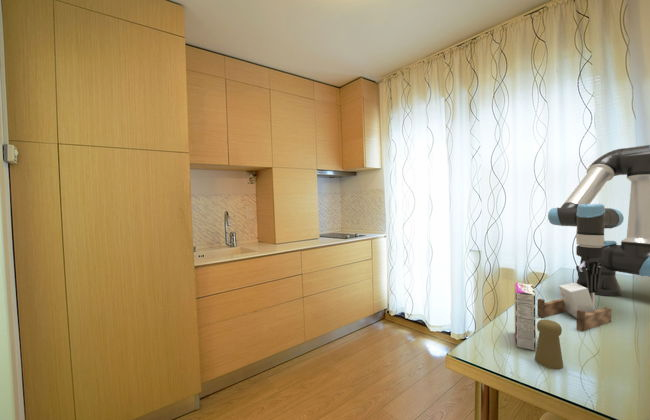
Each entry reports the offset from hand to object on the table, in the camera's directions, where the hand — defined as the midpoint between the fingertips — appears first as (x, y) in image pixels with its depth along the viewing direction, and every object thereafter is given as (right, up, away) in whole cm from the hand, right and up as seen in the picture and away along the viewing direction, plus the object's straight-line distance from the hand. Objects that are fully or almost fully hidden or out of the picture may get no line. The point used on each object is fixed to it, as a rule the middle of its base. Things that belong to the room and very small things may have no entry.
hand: (589, 309), depth 108 cm
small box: (-4, -1, -2) cm, 5 cm away
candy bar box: (-37, -3, -19) cm, 42 cm away
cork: (-38, -4, -31) cm, 50 cm away
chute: (-9, -2, -4) cm, 10 cm away
